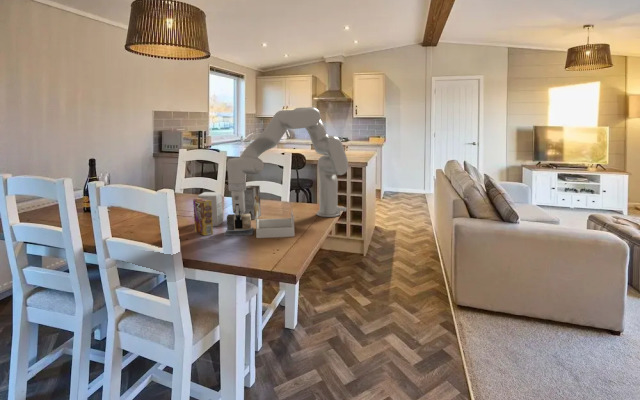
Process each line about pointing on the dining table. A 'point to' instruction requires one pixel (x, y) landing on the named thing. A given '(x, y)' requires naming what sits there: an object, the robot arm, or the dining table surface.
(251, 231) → the mat
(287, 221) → the grey open box
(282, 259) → the dining table surface
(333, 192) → the robot arm
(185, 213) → the dining table surface
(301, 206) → the dining table surface
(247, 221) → the block
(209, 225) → the candy box
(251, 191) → the coffee box
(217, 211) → the supplement box
